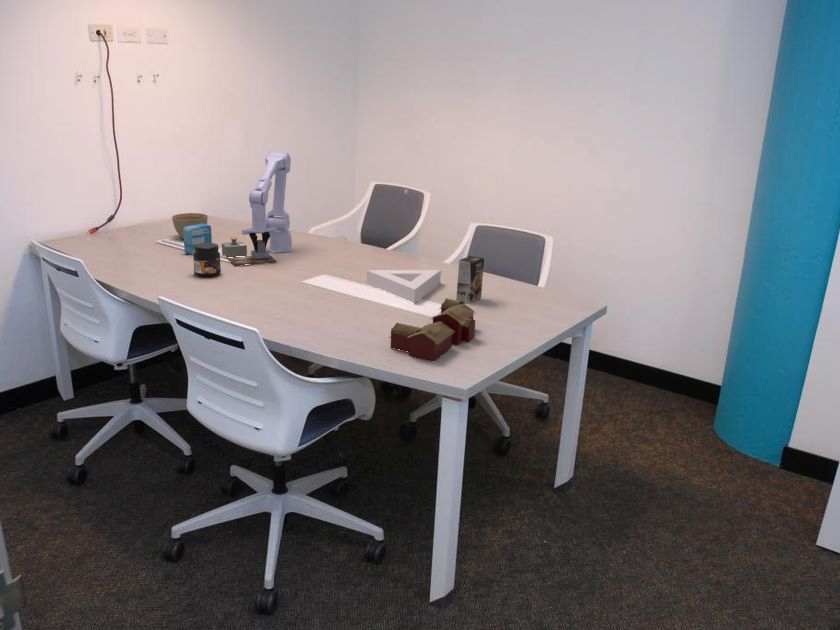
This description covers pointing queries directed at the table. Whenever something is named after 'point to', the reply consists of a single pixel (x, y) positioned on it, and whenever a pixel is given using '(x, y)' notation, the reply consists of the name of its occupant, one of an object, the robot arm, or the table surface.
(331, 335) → the table surface
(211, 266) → the supplement container
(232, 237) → the button
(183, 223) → the planter bowl
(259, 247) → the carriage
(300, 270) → the table surface
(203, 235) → the data package
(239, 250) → the cabinet
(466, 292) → the coffee box
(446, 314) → the toy houses
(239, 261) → the rail
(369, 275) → the triangle block
